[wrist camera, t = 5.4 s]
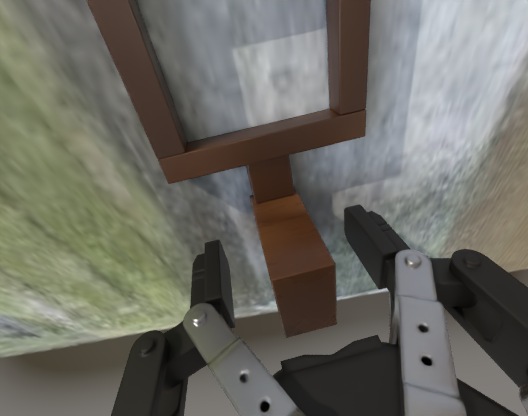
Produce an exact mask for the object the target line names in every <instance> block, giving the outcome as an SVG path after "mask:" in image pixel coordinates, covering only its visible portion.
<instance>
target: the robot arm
mask: <svg viewBox="0 0 528 416" xmlns="http://www.w3.org/2000/svg"><path fill="white" fill-rule="evenodd" d="M344 231H345V236H346V238H347V241H348V242H349V244H350V245H351V247H352V248H353V250H354V252H355V253H356V255H357V256H358V258H359V259H360V261H361V262H362V264H363V266H364V267H365V269H366V270H367V272H368V273H369V275H370V276H371V278H372V280H373V281H374V283H375V284H376V286H377V287H378V289H383V288H387V289H388V290H389V292H390V295H389V309H390V310H389V313H390V314H389V316H390V336H389V343H386V342H381V341H380V339H379V337H378V335H375V336H372V337H368V338H364V339H361V340H357V341H354V342H352V343H351V344H349V345H347V346H346V347H344V348H342V349H341V350H339V351H338V352H336V353H334V354H332V355H302V356H299V357H295V358H292V359H288V360H284V361H281V365H282V369H281V370H279V371H278V372H277V373H276V374H274V375H273V376H272V375H271V374H270V372H269V371H268V370H267V369H266V368H265V366H264V365H263V364H262V363H261V361H260V360H259V359H258V358H257V357H256V355H255V354H254V353H253V352H252V350H251V349H250V348H249V347H248V346H247V344H246V343H245V342H244V341H243V340H242V339H241V338H240V337H239V338H238V337H237V336H236V334H235V333H234V332H233V331H232V329H231V328H234V327H235V320H234V309H233V299H232V288H231V278H230V269H229V264H228V260H227V258H226V255H225V252H224V250H223V247H222V244H221V242H220V240H215V241H211V242H207V243H205V254H201V255H197V257H196V259H195V261H194V262H193V269H192V273H193V274H192V287H191V305H190V309H189V311H188V312H187V313H186V315H185V317H184V320H183V321H182V322H181V323H180V324H179V325H177V326H175V327H174V328H172V329H170V330H169V331H167V332H165V333H164V334H163V333H162V332H160V331H157V330H153V331H149V332H146V333H145V334H143V335H142V336H140V337H139V338H138V339H137V340H136V341H135V343H134V344H133V346H132V348H131V351H130V354H129V358H128V361H127V364H126V367H125V371H124V374H123V378H122V381H121V384H120V387H119V391H118V394H117V397H116V401H115V404H114V407H113V411H112V414H111V416H184V409H185V401H186V392H187V384H188V377H189V376H190V375H192V374H194V373H195V372H197V371H198V370H199V369H201V368H203V367H204V366H206V365H208V367H209V368H210V370H211V372H212V373H213V375H214V376H215V378H216V379H217V381H218V382H219V384H220V386H221V387H222V389H223V391H224V392H225V394H226V395H227V397H228V399H229V400H230V401H231V403H232V405H233V406H234V408H235V410H236V411H237V413H238V414H239V416H518V415H517V414H515V413H513V412H511V411H510V410H508V409H507V408H505V407H504V406H502V405H500V404H499V403H497V402H495V401H494V400H492V399H490V398H488V397H487V396H485V395H484V394H482V393H481V392H479V391H477V390H476V389H474V388H472V387H470V386H469V385H467V384H466V383H464V382H462V381H461V380H459V379H458V378H456V374H455V368H454V362H453V357H452V351H451V346H450V341H449V335H448V329H447V323H446V318H445V312H444V308H445V309H446V310H447V311H448V312H449V313H450V314H451V315H452V316H453V318H454V319H455V320H456V321H457V322H458V323H459V324H460V325H461V326H462V327H463V328H464V329H465V330H466V331H467V333H469V335H470V336H471V337H472V338H473V339H474V340H475V341H476V342H477V343H478V344H479V345H480V346H481V347H482V349H484V350H485V352H486V353H487V354H488V355H489V356H490V357H491V358H492V359H493V360H494V361H495V362H496V363H497V364H498V366H499V367H500V368H501V369H502V370H503V371H504V372H505V373H506V374H507V375H508V376H509V377H510V378H511V379H512V380H513V381H514V383H515V384H517V386H518V387H519V397H520V400H521V402H522V404H523V406H524V407H525V409H526V412H527V414H528V287H526V286H525V285H524V284H522V283H521V282H520V281H518V280H517V279H516V278H514V277H513V276H512V275H511V274H509V273H508V272H507V271H505V270H504V269H503V268H501V267H500V266H499V265H497V264H496V263H495V262H493V261H492V260H491V259H489V258H488V257H487V256H485V255H484V254H482V253H480V252H477V251H474V250H468V249H462V250H458V251H456V252H454V253H453V255H452V257H451V258H428V256H426V255H425V254H424V253H422V252H420V251H417V250H411V249H410V248H409V247H408V246H407V244H406V243H405V242H404V241H403V240H402V239H401V238H400V237H399V236H398V234H397V233H396V232H395V231H394V230H392V228H391V227H390V225H389V224H387V222H386V221H385V220H384V219H383V218H382V217H381V216H380V215H378V214H376V213H374V212H373V211H371V212H366V211H365V209H364V208H363V207H362V206H361V205H360V204H358V205H354V206H350V207H346V208H345V209H344Z"/></svg>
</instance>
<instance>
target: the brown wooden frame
mask: <svg viewBox="0 0 528 416" xmlns="http://www.w3.org/2000/svg"><path fill="white" fill-rule="evenodd" d="M86 1H87V3H88V5H89V7H90V9H91V12H92V14H93V16H94V18H95V21H96V23H97V25H98V27H99V30H100V32H101V34H102V36H103V39H104V41H105V43H106V45H107V47H108V50H109V52H110V54H111V56H112V59H113V61H114V63H115V65H116V68H117V70H118V72H119V74H120V76H121V79H122V81H123V83H124V85H125V88H126V90H127V92H128V94H129V97H130V99H131V101H132V103H133V105H134V108H135V110H136V112H137V114H138V117H139V119H140V121H141V123H142V126H143V128H144V130H145V132H146V134H147V137H148V139H149V141H150V143H151V146H152V148H153V150H154V152H155V155H156V157H157V159H158V161H159V164H160V166H161V168H162V170H163V172H164V175H165V177H166V179H167V181H168V183H169V184H171V183H175V182H179V181H183V180H188V179H192V178H196V177H200V176H204V175H208V174H212V173H216V172H220V171H225V170H229V169H233V168H237V167H241V166H245V165H246V167H247V171H248V175H249V179H250V184H251V188H252V192H253V195H251V196H250V200H251V204H252V208H253V212H254V216H255V220H256V224H257V228H258V232H259V236H260V240H261V244H262V248H263V252H264V256H265V260H266V264H267V268H268V272H269V276H270V280H271V284H272V287H273V291H274V295H275V299H276V303H277V307H278V311H279V315H280V319H281V323H282V327H283V331H284V335H285V337H286V338H288V337H292V336H295V335H299V334H302V333H306V332H310V331H314V330H317V329H321V328H325V327H328V326H332V325H336V324H337V303H336V302H337V301H336V270H335V262H334V260H333V258H332V257H331V255H330V253H329V251H328V249H327V247H326V245H325V243H324V242H323V240H322V238H321V236H320V234H319V232H318V230H317V228H316V227H315V225H314V223H313V221H312V219H311V217H310V215H309V213H308V212H307V210H306V208H305V206H304V204H303V202H302V200H301V199H300V197H299V195H298V193H297V191H296V189H295V187H294V186H293V181H292V173H291V166H290V158H289V155H290V154H294V153H298V152H303V151H307V150H311V149H315V148H319V147H323V146H327V145H331V144H335V143H339V142H344V141H348V140H352V139H356V138H360V137H364V136H365V127H366V110H365V109H366V95H367V72H368V49H369V26H370V3H371V0H326V6H327V36H328V66H329V96H330V109H328V110H324V111H320V112H316V113H311V114H307V115H303V116H299V117H294V118H290V119H286V120H282V121H278V122H273V123H269V124H265V125H261V126H257V127H252V128H248V129H244V130H240V131H236V132H231V133H227V134H223V135H219V136H215V137H210V138H206V139H202V140H198V141H194V142H189V143H187V140H186V137H185V134H184V132H183V129H182V126H181V123H180V121H179V118H178V115H177V112H176V109H175V107H174V104H173V101H172V98H171V96H170V93H169V90H168V87H167V85H166V82H165V79H164V76H163V74H162V71H161V68H160V65H159V63H158V60H157V57H156V54H155V52H154V49H153V46H152V43H151V41H150V38H149V35H148V32H147V29H146V27H145V24H144V21H143V18H142V16H141V13H140V10H139V7H138V5H137V2H136V0H86Z"/></svg>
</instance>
